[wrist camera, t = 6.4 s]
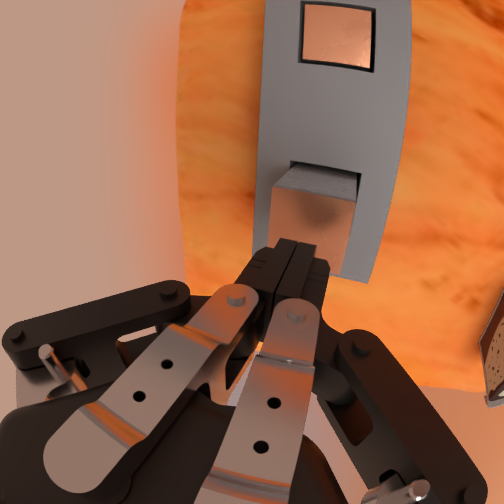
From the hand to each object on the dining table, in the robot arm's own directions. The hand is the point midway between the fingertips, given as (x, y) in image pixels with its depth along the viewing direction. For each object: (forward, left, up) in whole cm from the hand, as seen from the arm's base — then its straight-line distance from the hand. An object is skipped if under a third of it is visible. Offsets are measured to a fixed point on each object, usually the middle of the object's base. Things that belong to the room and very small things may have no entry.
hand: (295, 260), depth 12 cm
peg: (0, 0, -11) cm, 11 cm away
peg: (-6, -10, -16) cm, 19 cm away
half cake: (-18, +23, -16) cm, 33 cm away
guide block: (-3, -5, -16) cm, 17 cm away
